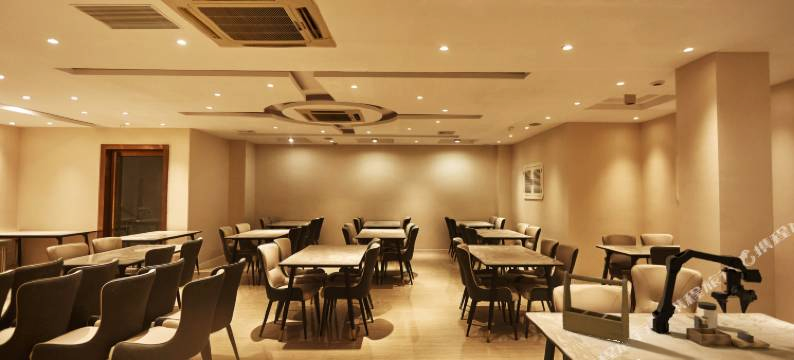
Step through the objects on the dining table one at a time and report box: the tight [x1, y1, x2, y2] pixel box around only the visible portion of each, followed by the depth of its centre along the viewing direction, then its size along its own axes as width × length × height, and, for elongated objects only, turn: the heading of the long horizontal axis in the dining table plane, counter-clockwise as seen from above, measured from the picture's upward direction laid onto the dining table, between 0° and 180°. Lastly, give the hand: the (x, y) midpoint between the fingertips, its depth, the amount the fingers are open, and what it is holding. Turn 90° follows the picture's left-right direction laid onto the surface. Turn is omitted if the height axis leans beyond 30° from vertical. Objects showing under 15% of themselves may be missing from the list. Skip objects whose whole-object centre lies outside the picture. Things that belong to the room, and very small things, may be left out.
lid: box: [731, 331, 771, 348], centre depth 190 cm, size 14×10×5 cm
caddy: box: [561, 270, 630, 344], centre depth 204 cm, size 29×11×30 cm, turn 47°
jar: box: [696, 301, 719, 329], centre depth 218 cm, size 9×8×12 cm
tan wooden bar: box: [685, 312, 709, 324], centre depth 207 cm, size 2×13×2 cm, turn 0°
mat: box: [731, 343, 770, 350], centre depth 190 cm, size 13×10×1 cm
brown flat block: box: [685, 327, 732, 347], centre depth 194 cm, size 14×10×5 cm
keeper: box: [693, 316, 708, 328], centre depth 204 cm, size 5×3×9 cm, turn 90°
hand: (734, 313), depth 198 cm, fingers open, 9 cm apart
